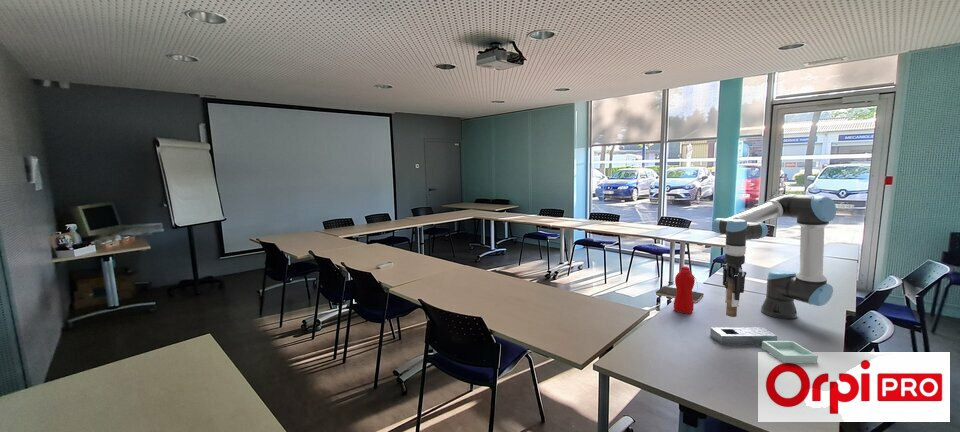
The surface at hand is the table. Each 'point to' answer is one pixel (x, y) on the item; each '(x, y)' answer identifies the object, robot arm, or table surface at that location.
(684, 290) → the water bottle
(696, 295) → the hardcover book
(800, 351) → the tray
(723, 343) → the block
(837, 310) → the table surface
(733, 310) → the pin
